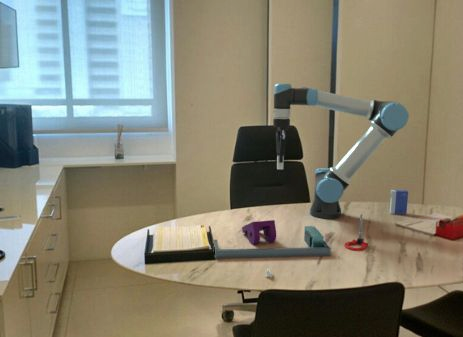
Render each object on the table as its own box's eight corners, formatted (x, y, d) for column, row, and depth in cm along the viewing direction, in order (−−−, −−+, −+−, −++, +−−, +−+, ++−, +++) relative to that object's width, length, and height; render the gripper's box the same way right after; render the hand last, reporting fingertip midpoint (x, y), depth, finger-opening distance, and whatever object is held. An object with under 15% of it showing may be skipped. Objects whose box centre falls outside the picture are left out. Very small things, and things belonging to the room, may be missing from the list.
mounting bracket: (241, 248, 207) (255, 243, 190) (239, 228, 209) (252, 221, 192) (262, 246, 210) (277, 240, 193) (259, 226, 212) (274, 220, 195)
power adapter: (266, 275, 165) (266, 266, 164) (273, 276, 164) (274, 267, 164) (264, 279, 162) (264, 270, 162) (272, 280, 161) (272, 271, 161)
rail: (313, 235, 207) (314, 221, 206) (330, 256, 183) (330, 240, 182) (211, 237, 203) (211, 223, 201) (215, 258, 179) (215, 243, 178)
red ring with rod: (359, 253, 187) (370, 246, 194) (360, 221, 184) (372, 215, 191) (340, 248, 193) (351, 241, 199) (341, 217, 190) (352, 211, 197)
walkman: (404, 212, 243) (406, 189, 241) (406, 214, 240) (408, 190, 238) (388, 212, 243) (390, 189, 241) (390, 214, 241) (392, 190, 238)
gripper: (271, 116, 225) (269, 166, 230) (276, 119, 212) (274, 171, 217) (286, 116, 226) (285, 166, 230) (293, 119, 213) (291, 171, 218)
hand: (280, 169), depth 224 cm, fingers closed
